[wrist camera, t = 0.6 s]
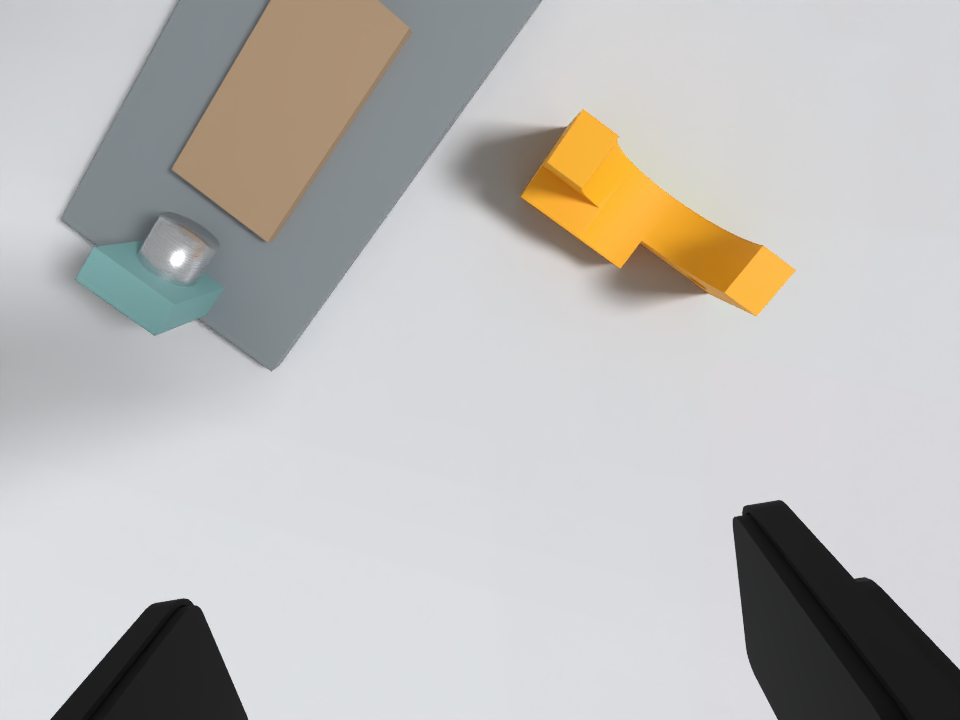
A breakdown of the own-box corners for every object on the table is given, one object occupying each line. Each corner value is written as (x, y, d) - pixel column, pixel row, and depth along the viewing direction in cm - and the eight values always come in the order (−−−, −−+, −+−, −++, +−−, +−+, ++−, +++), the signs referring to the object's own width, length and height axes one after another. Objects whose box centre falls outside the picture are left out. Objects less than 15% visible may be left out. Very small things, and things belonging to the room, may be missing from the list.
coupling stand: (326, -236, 26) (273, -364, 20) (557, -22, 28) (572, -81, 22) (76, 218, 32) (-21, 224, 26) (279, 365, 34) (232, 401, 28)
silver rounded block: (182, 211, 30) (147, 212, 27) (229, 246, 30) (200, 251, 27) (142, 276, 31) (105, 285, 28) (188, 310, 31) (156, 321, 29)
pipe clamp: (519, 196, 31) (523, 196, 25) (566, 127, 30) (583, 108, 24) (687, 317, 33) (730, 346, 26) (738, 255, 31) (795, 270, 25)
